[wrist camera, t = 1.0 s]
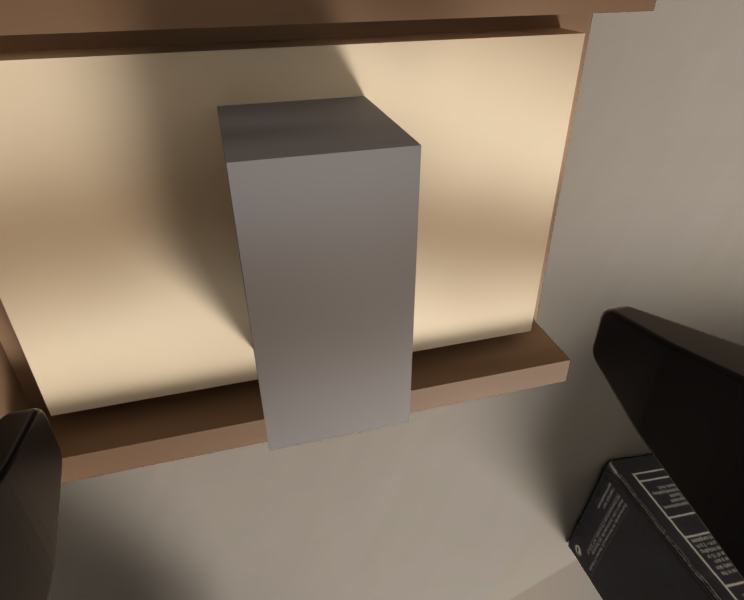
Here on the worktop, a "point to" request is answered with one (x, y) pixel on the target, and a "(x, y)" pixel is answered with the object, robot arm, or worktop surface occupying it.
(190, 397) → the walnut tray
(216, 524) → the worktop surface
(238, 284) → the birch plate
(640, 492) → the small box
